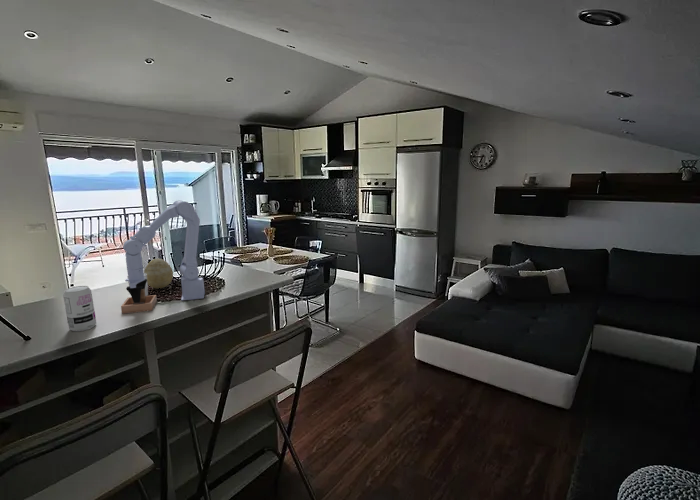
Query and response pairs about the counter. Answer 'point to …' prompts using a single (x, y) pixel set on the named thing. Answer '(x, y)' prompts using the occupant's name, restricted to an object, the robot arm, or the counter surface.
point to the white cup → (145, 285)
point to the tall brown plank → (142, 296)
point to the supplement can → (79, 308)
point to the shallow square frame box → (139, 305)
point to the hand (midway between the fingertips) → (139, 299)
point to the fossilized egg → (158, 273)
